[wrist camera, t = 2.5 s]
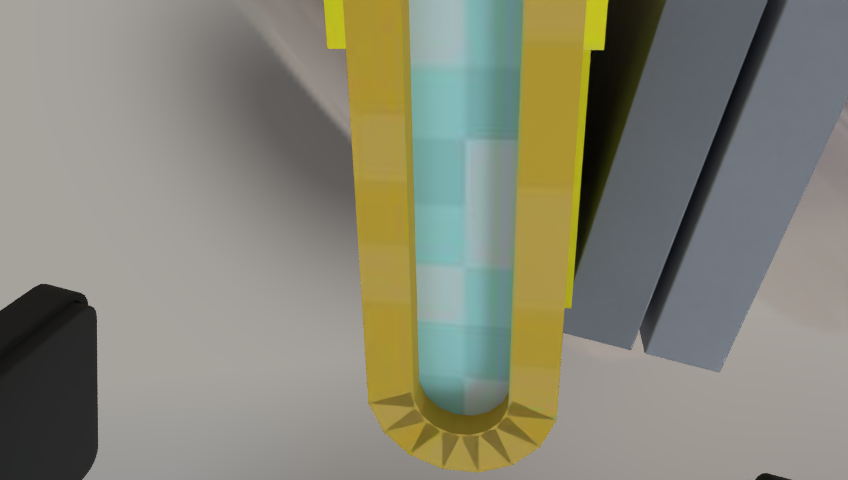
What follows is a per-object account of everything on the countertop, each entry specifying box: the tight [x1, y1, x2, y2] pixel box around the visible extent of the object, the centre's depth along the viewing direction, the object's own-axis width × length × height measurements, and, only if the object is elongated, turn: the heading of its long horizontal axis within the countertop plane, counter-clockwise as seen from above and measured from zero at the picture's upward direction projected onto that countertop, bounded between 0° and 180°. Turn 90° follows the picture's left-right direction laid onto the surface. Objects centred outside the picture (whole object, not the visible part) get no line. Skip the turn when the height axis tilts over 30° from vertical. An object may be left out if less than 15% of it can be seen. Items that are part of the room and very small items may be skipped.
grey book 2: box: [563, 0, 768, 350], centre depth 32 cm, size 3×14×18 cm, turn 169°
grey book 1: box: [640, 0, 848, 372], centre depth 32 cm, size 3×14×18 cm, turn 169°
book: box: [324, 0, 608, 472], centre depth 30 cm, size 17×7×25 cm, turn 1°
